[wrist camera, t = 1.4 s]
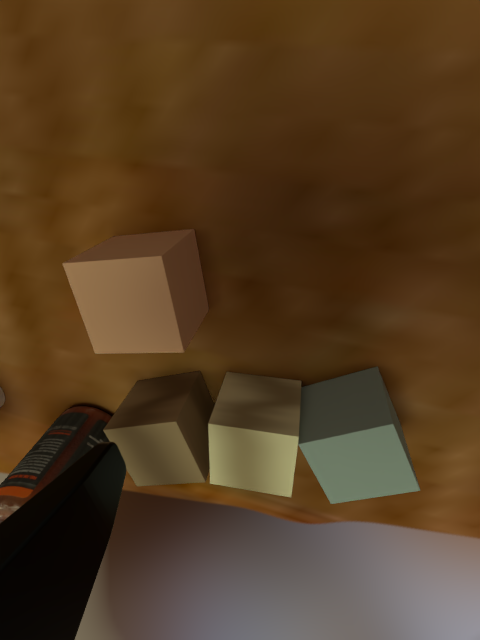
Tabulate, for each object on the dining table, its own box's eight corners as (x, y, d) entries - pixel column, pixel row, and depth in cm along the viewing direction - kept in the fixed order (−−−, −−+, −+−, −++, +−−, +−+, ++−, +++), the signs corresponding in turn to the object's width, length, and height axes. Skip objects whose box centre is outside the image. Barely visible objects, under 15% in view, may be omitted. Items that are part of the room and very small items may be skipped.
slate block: (377, 365, 22) (393, 423, 18) (400, 424, 24) (420, 490, 19) (300, 386, 24) (298, 444, 19) (328, 440, 26) (330, 503, 21)
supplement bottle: (49, 422, 30) (-80, 565, 20) (87, 389, 27) (-39, 536, 17) (103, 465, 31) (7, 619, 22) (145, 439, 29) (57, 599, 19)
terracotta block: (194, 228, 20) (161, 256, 16) (209, 309, 22) (184, 352, 18) (114, 235, 21) (62, 263, 17) (136, 311, 23) (95, 353, 19)
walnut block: (200, 370, 25) (175, 421, 20) (223, 424, 27) (205, 482, 22) (138, 379, 26) (103, 429, 22) (164, 431, 28) (136, 486, 24)
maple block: (301, 380, 24) (299, 436, 19) (294, 435, 26) (291, 497, 22) (227, 370, 24) (208, 423, 20) (227, 425, 27) (210, 483, 22)
